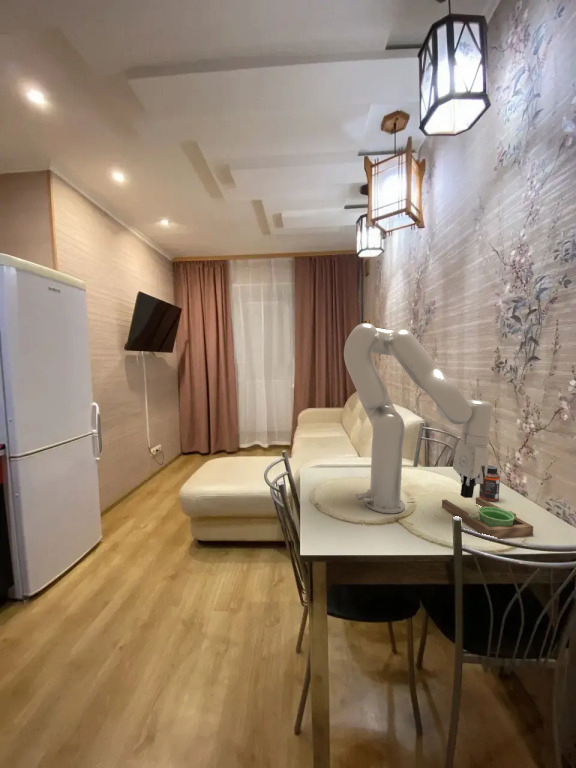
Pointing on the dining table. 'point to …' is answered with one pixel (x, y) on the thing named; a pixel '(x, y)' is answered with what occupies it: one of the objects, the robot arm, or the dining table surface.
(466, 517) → the walnut track
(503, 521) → the ramekin
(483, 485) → the supplement bottle
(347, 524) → the dining table surface
